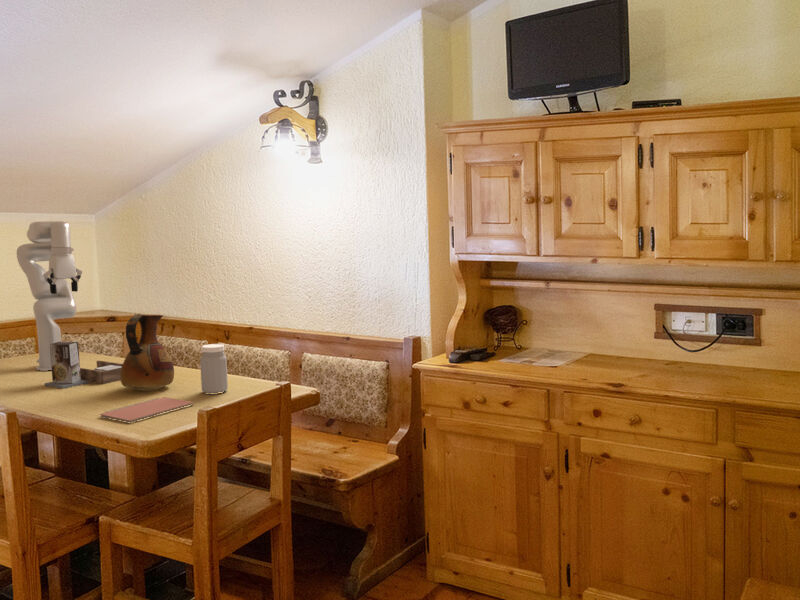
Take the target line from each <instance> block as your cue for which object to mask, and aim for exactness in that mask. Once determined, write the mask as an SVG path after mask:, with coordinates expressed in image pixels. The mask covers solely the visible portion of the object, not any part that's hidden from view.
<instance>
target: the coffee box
mask: <svg viewBox="0 0 800 600" xmlns="http://www.w3.org/2000/svg"><path fill="white" fill-rule="evenodd" d="M50 356H51V367H52V370H51V378H52V382H53V383H75V382H78V381H81V374H80V368H81V363H80V350H79V341H61V342H56V343H53V344H50Z"/></svg>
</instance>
